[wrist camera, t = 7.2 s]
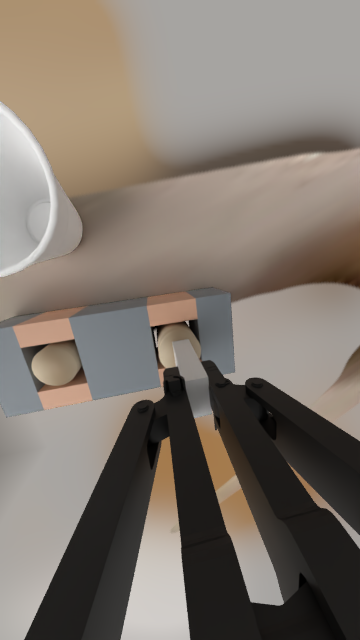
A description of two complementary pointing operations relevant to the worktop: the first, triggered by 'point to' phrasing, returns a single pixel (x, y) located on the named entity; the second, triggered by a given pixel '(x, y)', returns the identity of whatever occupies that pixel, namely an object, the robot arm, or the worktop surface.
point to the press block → (109, 347)
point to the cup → (31, 201)
